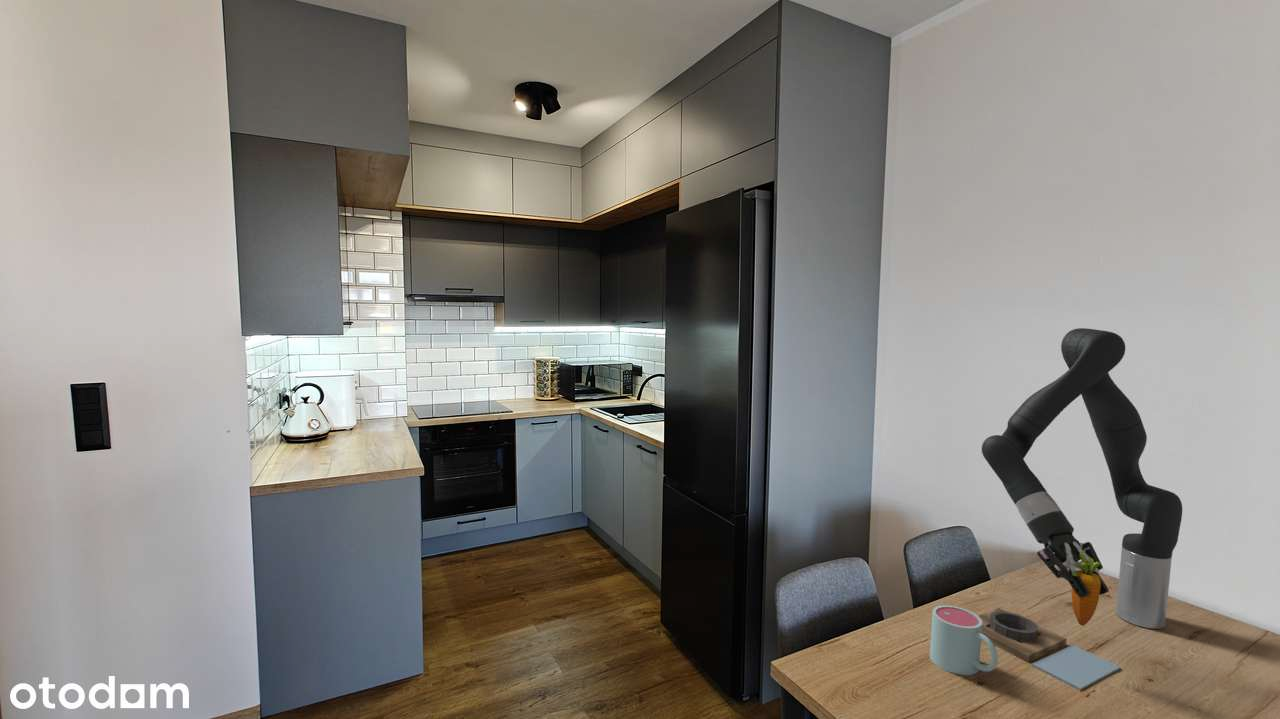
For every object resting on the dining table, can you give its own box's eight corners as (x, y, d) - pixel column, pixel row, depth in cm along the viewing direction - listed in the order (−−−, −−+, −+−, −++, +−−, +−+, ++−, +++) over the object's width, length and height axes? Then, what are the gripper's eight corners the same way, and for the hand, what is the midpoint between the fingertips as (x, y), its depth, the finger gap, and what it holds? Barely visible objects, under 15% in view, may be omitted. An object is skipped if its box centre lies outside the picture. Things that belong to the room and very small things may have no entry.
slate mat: (1072, 646, 131) (1072, 645, 131) (1120, 668, 123) (1120, 666, 123) (1031, 665, 123) (1032, 663, 123) (1080, 690, 115) (1080, 688, 115)
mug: (919, 654, 126) (922, 609, 125) (950, 645, 130) (953, 602, 129) (978, 692, 114) (982, 643, 113) (1010, 682, 117) (1014, 634, 117)
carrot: (1102, 633, 119) (1109, 562, 118) (1074, 630, 120) (1081, 559, 119) (1088, 620, 124) (1095, 552, 123) (1062, 617, 125) (1069, 549, 124)
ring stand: (998, 613, 145) (999, 600, 144) (1066, 644, 131) (1067, 630, 131) (960, 628, 137) (962, 613, 137) (1028, 662, 124) (1029, 646, 124)
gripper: (1032, 512, 125) (1084, 592, 114) (1079, 507, 129) (1134, 584, 119) (1007, 527, 130) (1055, 605, 120) (1053, 521, 135) (1104, 597, 124)
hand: (1094, 594), depth 120 cm, fingers closed on carrot, 4 cm apart
